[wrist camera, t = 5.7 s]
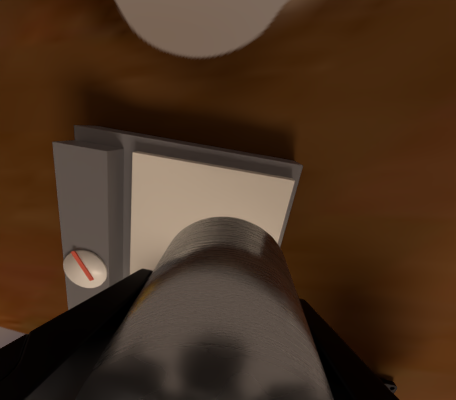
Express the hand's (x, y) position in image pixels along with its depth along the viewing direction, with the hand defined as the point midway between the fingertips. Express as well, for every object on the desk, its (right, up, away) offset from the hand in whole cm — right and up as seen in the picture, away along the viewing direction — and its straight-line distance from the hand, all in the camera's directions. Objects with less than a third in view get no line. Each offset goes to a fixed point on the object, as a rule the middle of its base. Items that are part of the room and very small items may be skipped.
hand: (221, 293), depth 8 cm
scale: (-4, -1, +12) cm, 13 cm away
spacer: (0, 0, +1) cm, 1 cm away
